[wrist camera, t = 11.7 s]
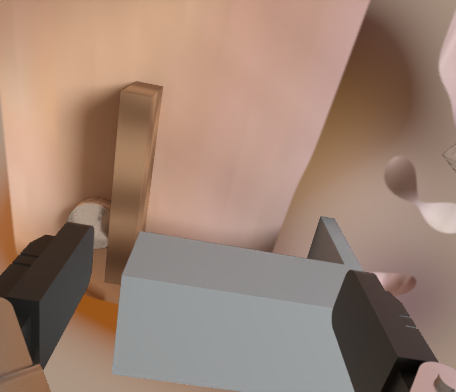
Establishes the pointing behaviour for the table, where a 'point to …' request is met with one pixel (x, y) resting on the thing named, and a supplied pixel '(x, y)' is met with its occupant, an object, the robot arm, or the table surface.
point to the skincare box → (451, 156)
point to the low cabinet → (233, 314)
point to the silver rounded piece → (94, 218)
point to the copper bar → (131, 173)
